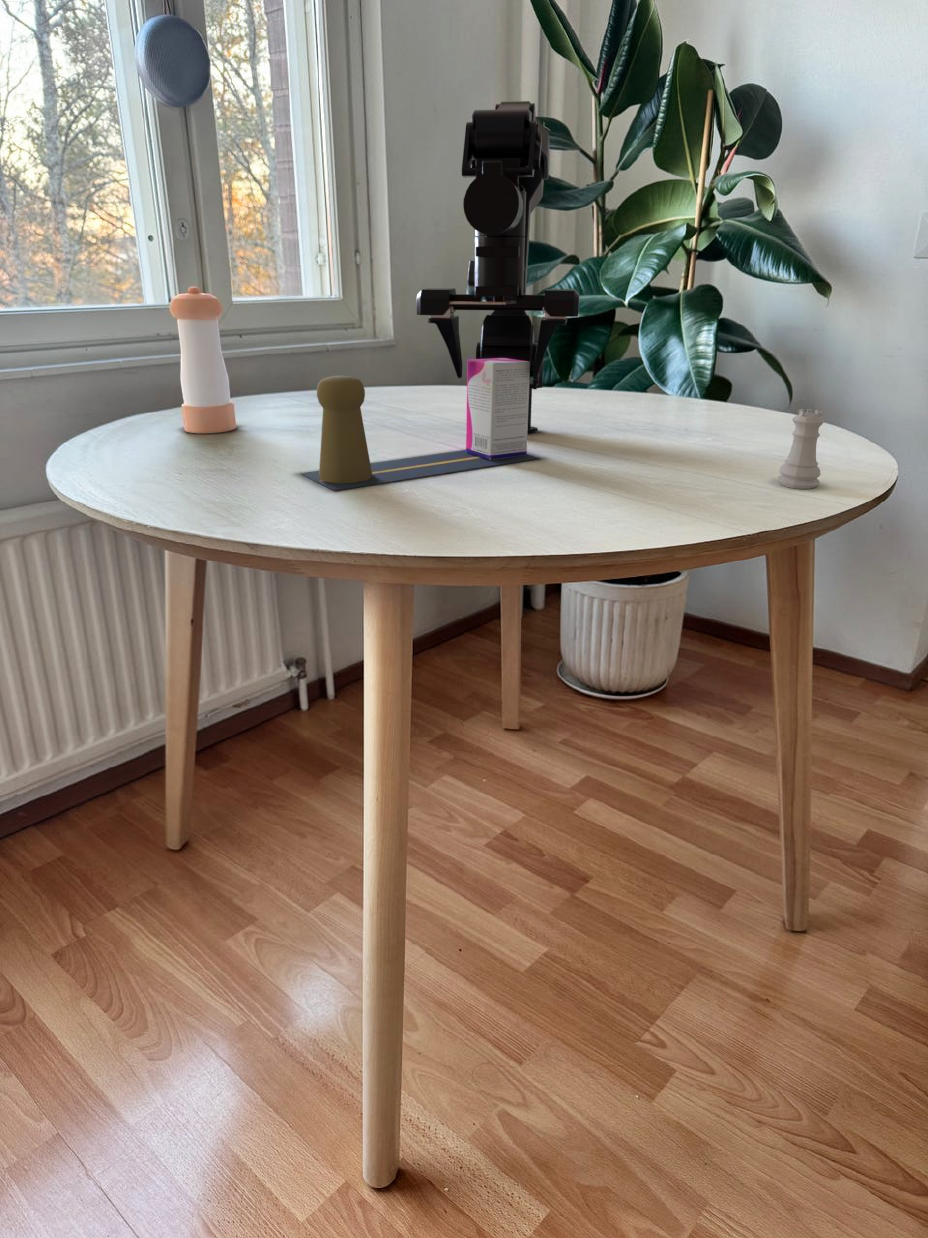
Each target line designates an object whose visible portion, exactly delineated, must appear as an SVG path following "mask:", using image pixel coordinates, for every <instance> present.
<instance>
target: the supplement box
mask: <svg viewBox="0 0 928 1238" xmlns="http://www.w3.org/2000/svg"><path fill="white" fill-rule="evenodd" d="M466 362H467V363H466V419H465V420H466V421H465V423H466V426H465V429H466V430H465V450H466V453H469V454H472V455H476V456H479V457H482V458H485V459H488V460H498V459H504V458H511V457H518V456H525V455H526V454H528V453H527V450H528V433H527V431H528V405H529V380H531V379H530V378H531V377H530V362H529V361H522V360H515V359H508V358H491V359H476V358H469V359H467V360H466Z"/></svg>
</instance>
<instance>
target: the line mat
mask: <svg viewBox="0 0 928 1238" xmlns="http://www.w3.org/2000/svg"><path fill="white" fill-rule="evenodd" d="M540 459H541V457H537V456H535V455H531V454H529V453H527V454H526V455H525V456H518V457H511V458H504V459H498V460H488V459H485V458H482V457H479V456H476V455H472V454H469V453H466V449H462V450H455V451H448V452H440V453H434V454H427V455H419V456H412V457H407V458H398V459H390V460H385V461H378V462H370V465H371V470H372V477H371V478H370V479H368V480H365V481H361V482H355V483H331V482H325V481H322V480H320V479H319V470H315V471H308V472H300V475H302V476H303V477H305V478H308V480H311V481H313V482H316V483H317V484H319V485H321V486H323V487H325V488H327V489H329V490H331V491H333V492H338V491H344V490H345V491H346V490H350V489H351V490H352V489H357V488H364V487H371V486H377V485H383V484H388V483H389V484H390V483H394V482H395V483H396V482H402V481H408V480H415V479H421V478H426V477H434V476H439V475H446V474H452V473H458V472H460V473H461V472H465V471H471V470H478V469H484V468H491V467H498V466H504V465H509V464H516V463H523V462H529V461H535V460H540Z"/></svg>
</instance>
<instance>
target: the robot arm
mask: <svg viewBox="0 0 928 1238" xmlns="http://www.w3.org/2000/svg"><path fill="white" fill-rule="evenodd" d="M462 151H463V152H462V161H461V164H462V165H461V177H462V178H465V179H466V178H468V179H469V178H473V180H472V181H471V183H470V184H469V185H468V187H467V188H466V190H465V193H464V197H463V201H462V202H463V203H462V206H463V213H464V216H465V218H466V220H467V222H468V224H469V225H470V226H471V228H473V229H474V260H469V262H468V270H467V287H468V289H469V291H470V292H474V293H472V294H471V293H457V291H456V288H454V287H453V288H452V287H451V288H449V287H447V288H445V287H440V288H439V287H427V288H422V289H420V291H419V292H418V293H417V295H416V316H429V317H428V318H427V323H428V324H434V325H436V327H437V330H438V331H439V333H440V336H441V338H442V339H443V341H444V344H445V346H446V349H447V351H448V354H449V356H450V359H451V362H452V366H453V368H454V372H455V375H456V377H457V378H458V379H462V378H463V357H462V347H461V338H460V315H455V313H456V311H491V313H490V314H486V316H485V317H484V318H483V321H482V327H481V337H480V338H481V339H480V341H477V342H476V348H475V359H491V358H508V359H515V360H522V361H529V362H530V378H532V379H529V405H528V431H527V434H528V433H536V432H538V430H539V429H538V427H536V426H532V402H533V400H532V399H533V390H537V389H542V388H543V384H544V359H545V356H546V354H547V353H546V352H547V349H548V347H549V344H550V342H551V340H552V338H553V336H554V334H555V332H556V329H557V327H558V326H563V325H564V326H566V325H567V322H568V318H575V317H579V307H580V293H579V292H578V291H577V290H576V288H545V290H544V294H527V283H528V267H529V266H528V264H529V249H530V247H529V246H530V231H531V216H532V215H531V214H532V213H533V212H534V211H535V209H536V207H537V206H538V205H539V204H540V202H541V201H542V199H543V196H544V183H545V182H544V181H545V180H549V177H550V133H549V131H548V130H547V129H546V128H545V127H544V125H543V124H542V123H541V122H540V120H539V119H538V118H537V115H536V103H535V102H534V103H533V102H532V103H531V101H530V100H522V101H521V100H520V101H519V100H518V101H512V100H511V101H501V102H500V103H496V104H495V107H494V109H475V110H473V112H472V114H471V121H466V123H465V132H464V142H463V150H462ZM483 299H484V301H483ZM527 312H542V314H543V315H544V316H543V317H541V319H540V322H539V323H540V324H539V329H538V336H537V341H536V342H535V331H534V325H533V323H532V320H531V318H530V316H529V315H528V314H527Z"/></svg>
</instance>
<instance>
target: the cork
mask: <svg viewBox="0 0 928 1238" xmlns="http://www.w3.org/2000/svg"><path fill="white" fill-rule="evenodd" d="M316 397H317V401H318V403H319V405H320V406H321V407H322V421H321V437H320V451H319V452H320V453H319V469H318V471H319V479H320V480H322V481H325V482H331V483H355V482H361V481H365V480H368V479H370V478H371V477H372V470H371V465H370V463H371V460H370V455H369V448H368V443H367V436H366V432H365V426H364V419H363V415H362V409H361V407H362V405H363V404H364V402H365V399H366V389H365V387H364V384H363V381H361V379H359V378H358V377H354V376H350V375H341V374H340V375H331V376H328V377H324V378H322V379H320V381H319V382H318V384H317V386H316Z"/></svg>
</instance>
